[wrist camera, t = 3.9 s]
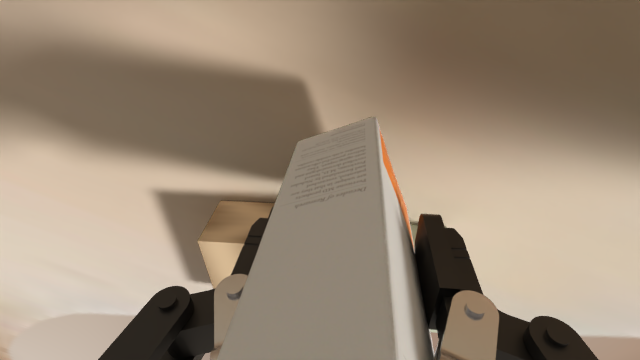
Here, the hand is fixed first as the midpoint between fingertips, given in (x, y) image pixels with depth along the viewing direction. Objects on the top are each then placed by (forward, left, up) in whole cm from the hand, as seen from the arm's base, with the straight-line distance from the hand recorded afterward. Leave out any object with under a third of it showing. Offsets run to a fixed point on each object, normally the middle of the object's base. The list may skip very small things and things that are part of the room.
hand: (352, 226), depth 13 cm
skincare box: (0, 0, -4) cm, 4 cm away
